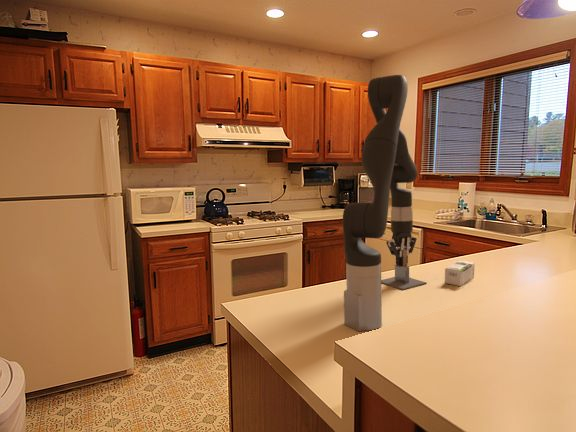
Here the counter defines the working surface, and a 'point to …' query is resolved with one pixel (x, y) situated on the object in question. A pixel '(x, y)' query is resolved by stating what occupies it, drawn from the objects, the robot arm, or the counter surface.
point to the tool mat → (403, 286)
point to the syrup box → (459, 273)
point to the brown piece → (402, 269)
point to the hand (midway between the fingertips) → (401, 265)
